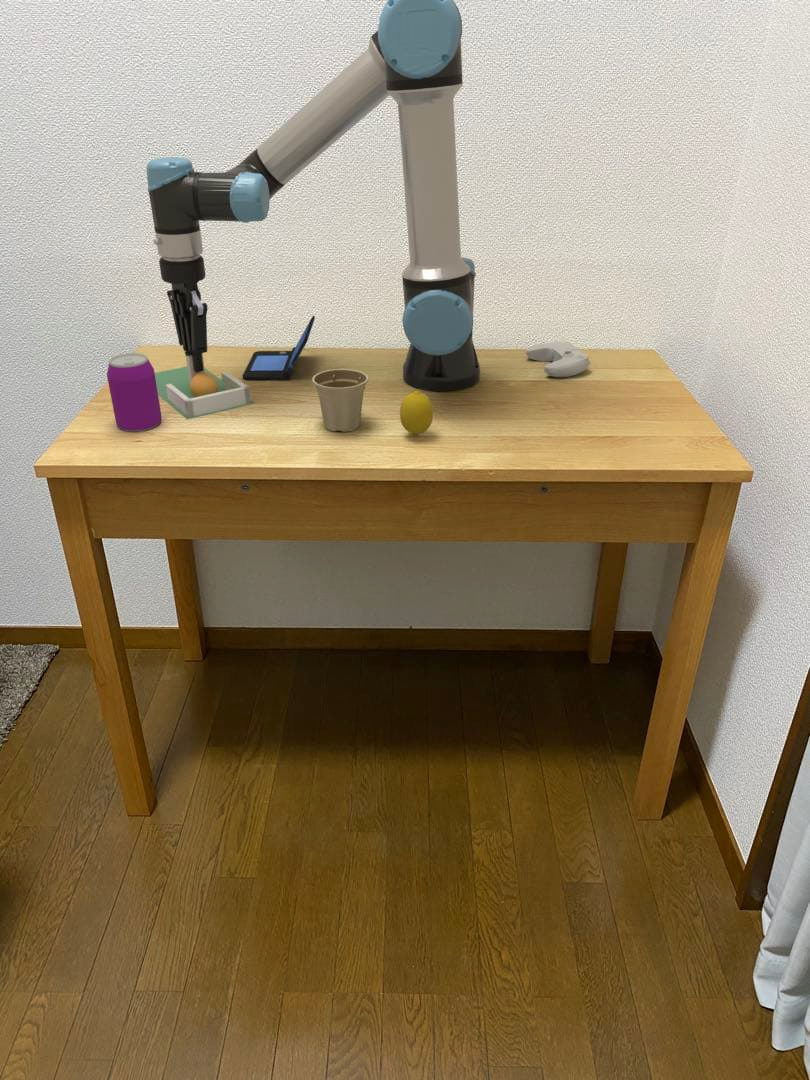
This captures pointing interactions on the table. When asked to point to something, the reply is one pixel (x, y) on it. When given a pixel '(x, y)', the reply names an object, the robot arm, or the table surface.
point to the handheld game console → (276, 361)
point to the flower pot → (341, 397)
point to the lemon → (416, 413)
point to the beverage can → (133, 392)
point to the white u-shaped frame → (211, 398)
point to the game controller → (559, 358)
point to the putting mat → (183, 386)
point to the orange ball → (203, 385)
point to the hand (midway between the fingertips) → (198, 386)
